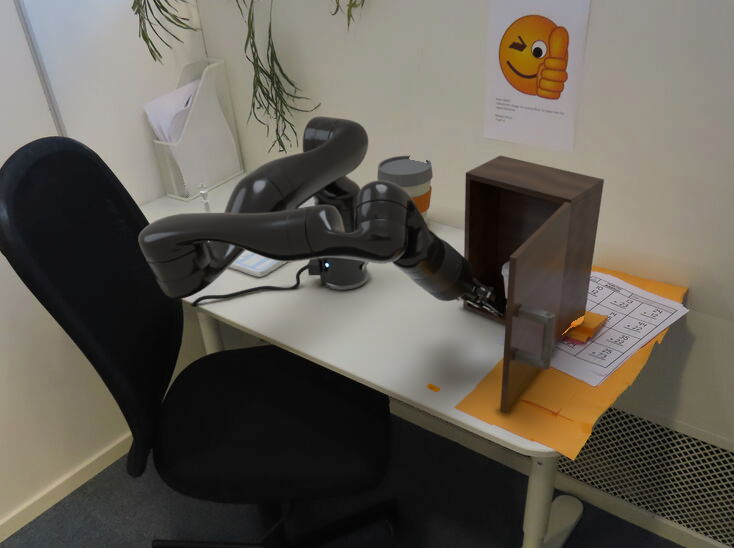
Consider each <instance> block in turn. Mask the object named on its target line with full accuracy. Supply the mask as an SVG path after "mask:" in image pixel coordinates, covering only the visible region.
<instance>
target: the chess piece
mask: <svg viewBox="0 0 734 548" xmlns="http://www.w3.org/2000/svg"><path fill="white" fill-rule="evenodd" d="M206 188H207V185H204V183H203V182H201V183H200V185H198V189H201V190H199V195H200V196H201V198H202V199H201V201H200V202H201V203H203V206H204V213H212V210H211V208H210V204H209V202H211V199H210V198H209V197H208V194H209V193H208V192H209V191H208V189H206Z"/></svg>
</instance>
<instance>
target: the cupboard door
mask: <svg viewBox="0 0 734 548" xmlns="http://www.w3.org/2000/svg"><path fill="white" fill-rule="evenodd" d="M571 204H572V203H568V202H565V203H564V204H563V205H562V206H561V207H560V208H559V209H558V210H557V211H556V212H555V213H554V214H553V215H552V216H551V217H550V218H549V219H548V220H547V221H546V222H545V223H544V224H543V225H542V226H541V227H540V228H539V229H538V230H537V231H536V232H535V233H534V234H533V235H531V236H530V237H529V238H528V239H527V240H526V241H525V242H524V243H523V244H522V245H521V246H520V247H519V248H518V249H517V250H516V251H515V252H514V253H513V254H512V255H511V256H510V261H509V277H508V293H507V309H506V326H505V325H504V326H505V327H504V341H503V342H504V344H503V359H502V375H501V377H502V378H501V391H500V392H501V393H500V407H499V411H500V412H502V413H505V414H507V412H508V411H509V410H510V409H511V407H512V406H513V404H514V403H515V402H516V400H517V399H518V398H519V397H520V395H521V394H522V393H523V391H524V390H525V389H526V387H527V386H528V384H529V383H530V382H531V380H532V379H533V378H534V376H535V375H536V374H537V373H538V371H539V370H545V371H546V370H547V371H548V370H549V369H550V368H551V361H552V353H553V351H554V350H555V349H556V345H557V344H556V335H557V327H558V318H559V309H560V300H561V292H562V283H563V274H564V265H565V257H566V248H567V239H568V230H569V222H570V213H571ZM555 344H556V345H555Z"/></svg>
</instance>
